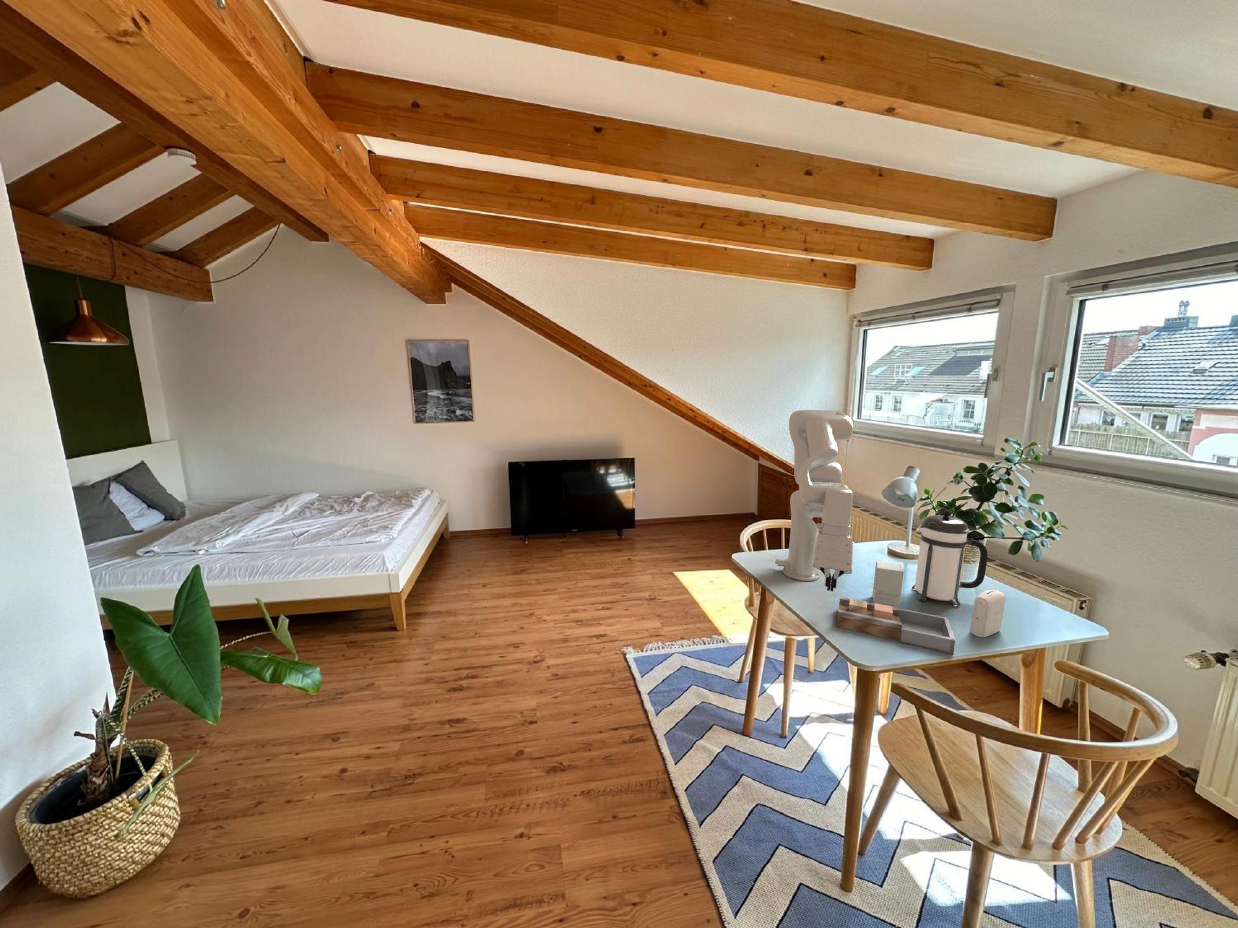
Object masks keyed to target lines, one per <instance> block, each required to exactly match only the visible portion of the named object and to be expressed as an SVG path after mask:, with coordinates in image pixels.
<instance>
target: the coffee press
mask: <svg viewBox="0 0 1238 928" xmlns="http://www.w3.org/2000/svg"><path fill="white" fill-rule="evenodd" d="M951 515H952V512H951V511H950V509H944V510H943V511H942V515H940V514H938V515H937V514H936V515H935V514H934V515H929V516H926V517H925V518H924V520H923V521H921V523H920V525H919V526H918V527H917V528H916V530H915V531H916V532H919V533H920V537H919V538H920V542H919V543H920V544H919V551H918V557H917V566H916V575H915V580H914V581H915V584H914V585H912V586H911V589H912V591H917V592H918V593H919V594H920V596H919V599H918V600H919V601H920V602H922V603H926V601H927V600H928V599H933V600H936V601H937V600H938V601H943V602H946V601H949V602H950V603H951V604H952V606H953V607H955V608H957V607H960V606H961V602H960V600H959V598H958V596H959V591H960V589H975V588H978V587H979V586H980V585H981V584H983V582H984V579H985V576H986V572H987V564H988V556H989V555H988V549H987V547H986V546H985V545H984V544H983V543H982V542H981V541H979V540H976V539H968V538H967V537H968V534H969V532H970V528H968V524H967V523H966V522H965V521H964V520H962V519H959V518H957V517H954V516H953V517H952V516H951ZM967 545H969V546H974V547H977V548H978V550H979V553H980V554H979V561H978V565H977V566H978V568H977V575H976V578H975V579H974V580H973V581H970V582H965V581H961V577H962V572H963V563H964V557H965V551H966V547H967Z"/></svg>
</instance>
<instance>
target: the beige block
mask: <svg viewBox="0 0 1238 928" xmlns="http://www.w3.org/2000/svg"><path fill="white" fill-rule="evenodd" d="M849 599H850V604H849V612H853V613H858V614H863V615H866V611H867V602H868V601H867V600H866V601H865V600H860V599H855V598H849Z"/></svg>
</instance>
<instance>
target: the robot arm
mask: <svg viewBox="0 0 1238 928" xmlns="http://www.w3.org/2000/svg"><path fill="white" fill-rule="evenodd" d="M788 430H789V435H790V438H791V442H792V445H793V450H794V453H793V454H794V457H793V458H794V460H793V461H794V462H793V463H794V470H793V471H794V480H795V483H796V484H797V485H798V489H797V490H796V491H793V492H792V494H791V495H790V499H789V500H790V501H789V502H790V503H789V504H790V517H791V519H790V533H789V535H790V536H789V547H788V557H787V559H780V558H775V563H774V564H776V565H777V566H778V567H783V568H782V573H783V575H784V576H787V577H788V578H791V579H792V580H793V579H794V580H798V581H806V582H807V581H808V582H812V581H816V580H819V578H820V572H821V573H822V574H823V575H824V577H825V583H824V586H825V587H826V588H827V589H826V591H828V592H830V591H831V592H832V593H833V592H834V589H837V582H838V579H839V578H840V577H842V576H843V575H852V574H853V566H852V565H853V560H854V559H853V554H854V543H853V536H852V535H851V534H850V533H851V522H852V514H853V513H852V512H853V500H854V493H853V491H852V490H851V489H849V486H848V485H847V484H845V483H844V481H843V480H844V477H843V476H844V475H843V469H842V466H841V465H840V463H838V462H837V459H838V457H839V450H838V443H837V441H848V440H850V439H852V437H853V434H854V423H853V421H852V418H851V417H850V416H849V415H847V414H846V413H844V412H842V411H839V410H826V409H825V410H821V409H799V410H796V411H794V412H792V413H791V414H790V416H789V419H788ZM813 518H822V522H821V523H816V522H815V521H814V519H813ZM818 570H819V571H820V572H819V571H818ZM830 570H834V572H833V574H832V573H831V571H830ZM831 574H832V575H831Z"/></svg>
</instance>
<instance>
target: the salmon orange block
mask: <svg viewBox="0 0 1238 928" xmlns="http://www.w3.org/2000/svg"><path fill="white" fill-rule="evenodd" d="M873 614H874V617H877V618H882V619H887V620H892V616H893V610H892V606H887V605H882V604H876V603H875V604H874V612H873Z"/></svg>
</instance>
